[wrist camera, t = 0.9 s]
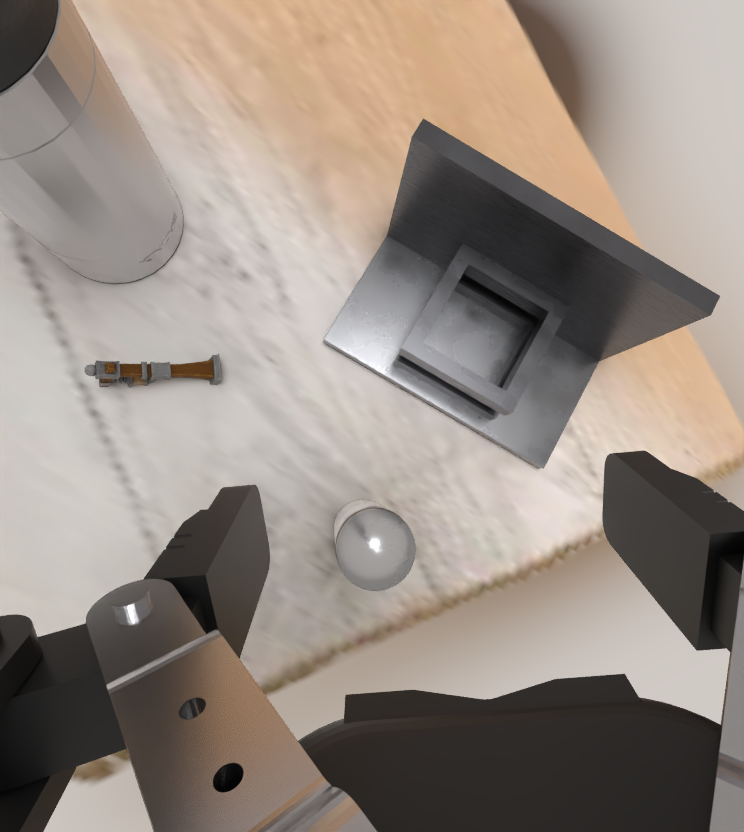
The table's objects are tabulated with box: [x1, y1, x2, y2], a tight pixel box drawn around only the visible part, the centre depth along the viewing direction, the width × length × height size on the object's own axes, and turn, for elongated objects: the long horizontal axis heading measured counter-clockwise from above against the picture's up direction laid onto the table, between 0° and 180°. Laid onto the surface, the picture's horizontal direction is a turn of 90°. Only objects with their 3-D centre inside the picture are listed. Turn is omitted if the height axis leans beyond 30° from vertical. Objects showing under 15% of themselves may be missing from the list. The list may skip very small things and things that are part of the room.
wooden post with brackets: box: [85, 354, 221, 387], centre depth 34 cm, size 2×8×4 cm, turn 97°
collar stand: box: [324, 119, 720, 468], centre depth 32 cm, size 18×12×12 cm, turn 60°
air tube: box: [334, 499, 416, 591], centre depth 31 cm, size 4×4×10 cm
